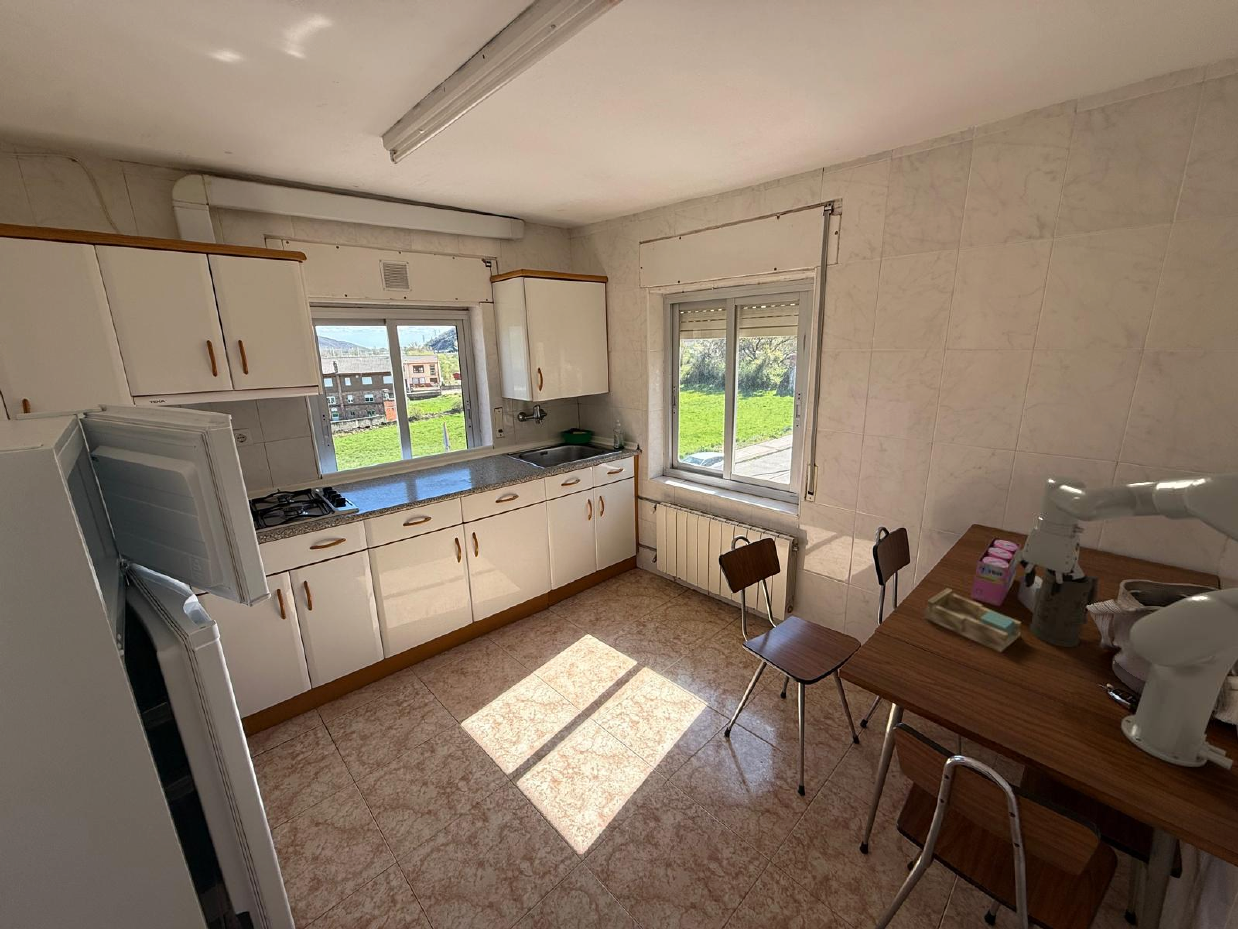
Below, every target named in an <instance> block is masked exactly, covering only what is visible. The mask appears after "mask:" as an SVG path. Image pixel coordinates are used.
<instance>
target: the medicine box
mask: <svg viewBox="0 0 1238 929" xmlns="http://www.w3.org/2000/svg"><path fill="white" fill-rule="evenodd" d="M1025 576H1026V574H1023V575H1021V579H1020V584H1019V589H1018V594H1017V599H1018V600H1019V602H1021V603H1022V604H1023V605H1024V606H1025V607H1026V608H1027V609H1028V610H1029V611H1030V612H1031V613H1033V612H1034V608H1035V603H1036V599H1037V595H1038V591H1039V589H1040V587H1041V584H1042V580H1043V578H1041V577H1040V576H1039V575H1036V576H1035V580H1034V584H1033V585H1032V586H1031V587H1026V582H1025Z"/></svg>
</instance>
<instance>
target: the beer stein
mask: <svg viewBox="0 0 1238 929" xmlns="http://www.w3.org/2000/svg"><path fill="white" fill-rule="evenodd" d="M1070 573H1074V571H1073V570H1072V569H1071V571H1070ZM1070 573H1066V575H1067V574H1070ZM1042 576H1043V577H1042V584H1041V587H1040V589H1039V591H1038V595H1037V599H1036V603H1035V608H1034V612H1032V617H1031V618H1032V619H1031V620H1032V622H1031V623H1030V625H1029V631H1030V632H1031V633H1032V635H1034V636H1035V638H1038V639H1039V640H1042V641H1044V642H1046V643H1049V644H1051V645H1054V646H1059V647H1064V648H1065V647H1067V648H1070V647H1076V646H1078V645H1079V644H1080V635H1081V633H1082V629H1083V628H1082V627H1083V625H1084V624H1085V625H1086V624H1088V618H1087V614H1088V613H1089V611H1088V609H1087V608H1086V606H1087V605H1091V604H1093V605H1094V604H1095V602H1096V600H1097V598H1098V582H1099V577H1098V576H1094V575H1087V574H1086V573H1084V576H1083V577H1082V578H1078V579H1072V580H1069V581H1066V582H1063V587H1062V591H1061V593H1060V594H1059V593H1057V594H1056V595H1055V596H1051V595H1050V594H1051V590H1052V585H1053V582H1054V581H1055V580H1056V572H1055V571H1054V570H1051V569H1047V568H1045V570H1044V572H1043V574H1042Z"/></svg>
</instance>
